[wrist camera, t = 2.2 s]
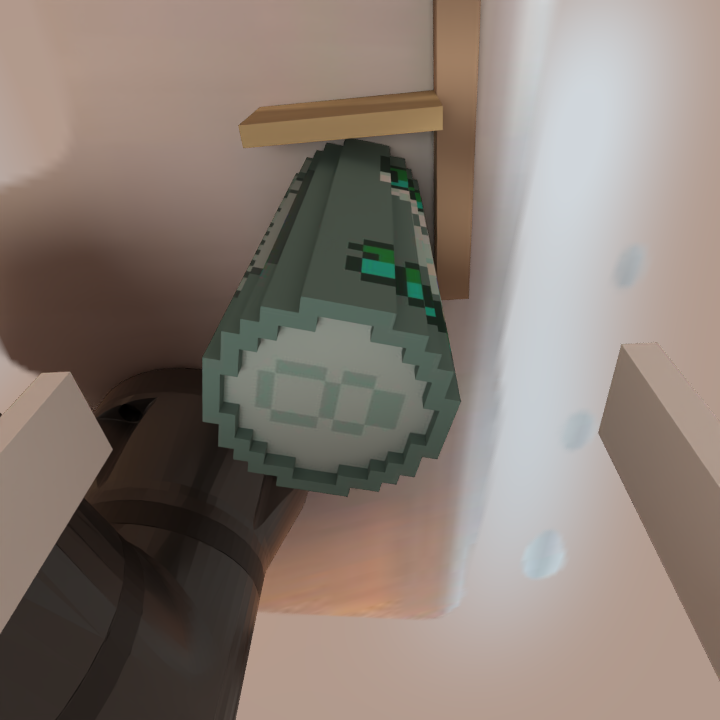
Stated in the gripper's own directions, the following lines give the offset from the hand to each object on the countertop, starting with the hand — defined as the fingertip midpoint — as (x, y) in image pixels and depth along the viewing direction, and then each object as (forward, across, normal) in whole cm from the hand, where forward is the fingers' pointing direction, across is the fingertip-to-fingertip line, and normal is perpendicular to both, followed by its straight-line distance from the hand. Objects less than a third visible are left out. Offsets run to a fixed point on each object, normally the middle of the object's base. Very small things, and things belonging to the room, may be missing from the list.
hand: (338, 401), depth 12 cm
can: (+15, 0, 0) cm, 15 cm away
